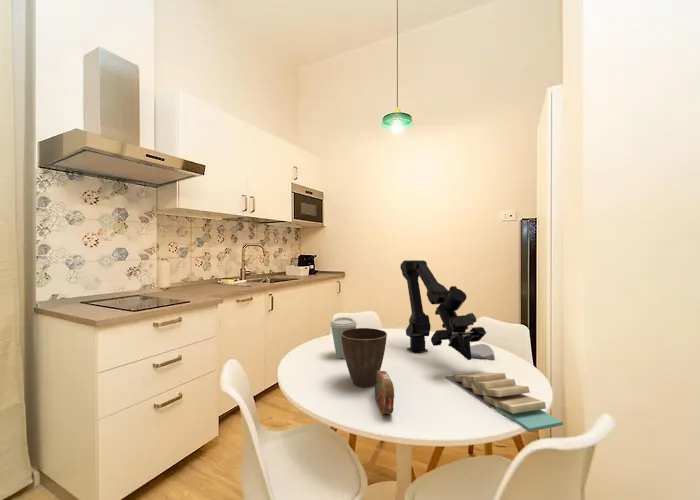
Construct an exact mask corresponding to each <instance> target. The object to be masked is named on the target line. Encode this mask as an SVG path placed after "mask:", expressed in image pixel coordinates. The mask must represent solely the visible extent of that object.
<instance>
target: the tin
mask: <svg viewBox="0 0 700 500" xmlns="http://www.w3.org/2000/svg"><path fill="white" fill-rule="evenodd" d="M374 397H375V401H376V403H377V406H378V409H379V412H380V414H381V415H392V414H393V412H394V401H395V400H394V399H395V387H394V384H393V381H392V379H391V377H390V376H389V374H388V372H387V371H386V370H380V371H378V370H377V371H376V375H375V385H374Z"/></svg>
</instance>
